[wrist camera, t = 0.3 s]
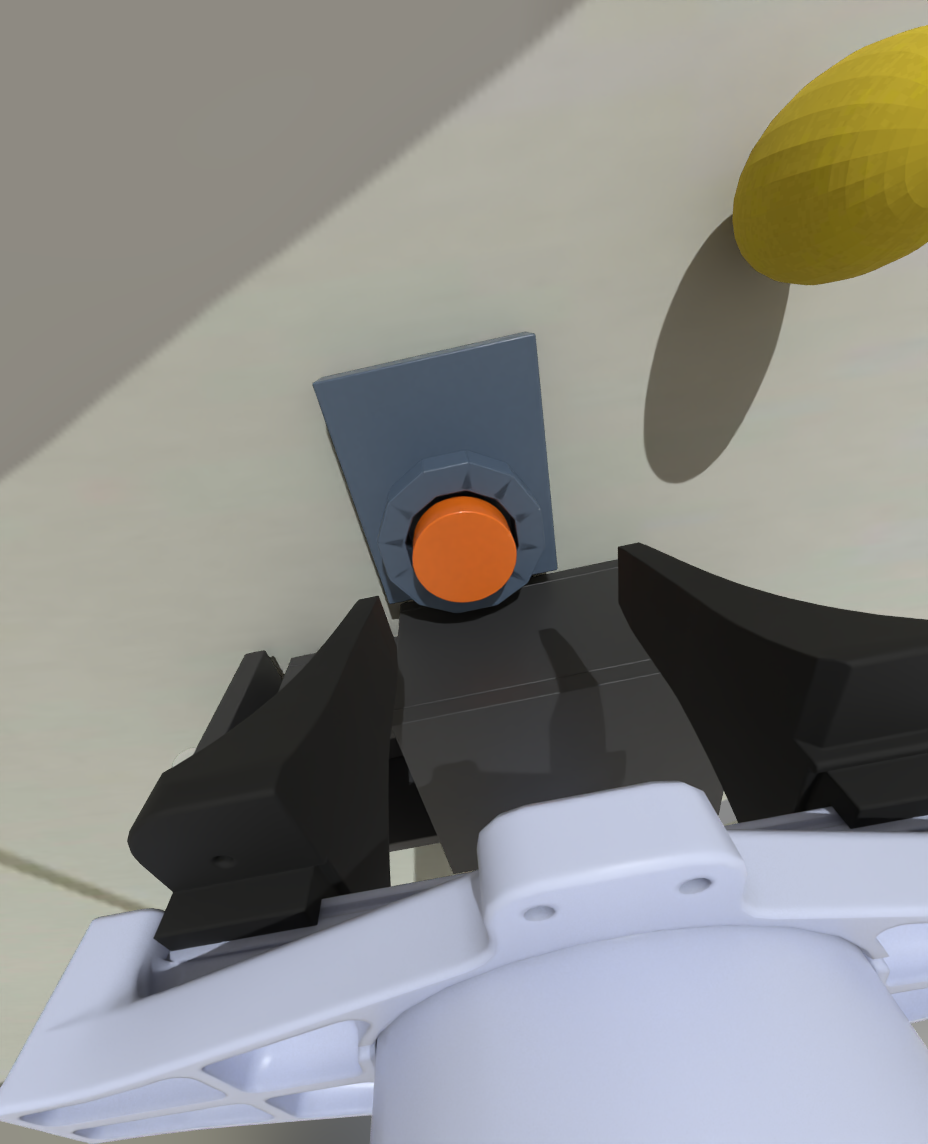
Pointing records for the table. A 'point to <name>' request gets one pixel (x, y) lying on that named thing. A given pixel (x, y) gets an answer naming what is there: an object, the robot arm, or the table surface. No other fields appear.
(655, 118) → the table surface
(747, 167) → the lemon
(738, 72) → the table surface
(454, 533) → the button
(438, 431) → the panel
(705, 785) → the charcoal grey box
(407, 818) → the drawer
